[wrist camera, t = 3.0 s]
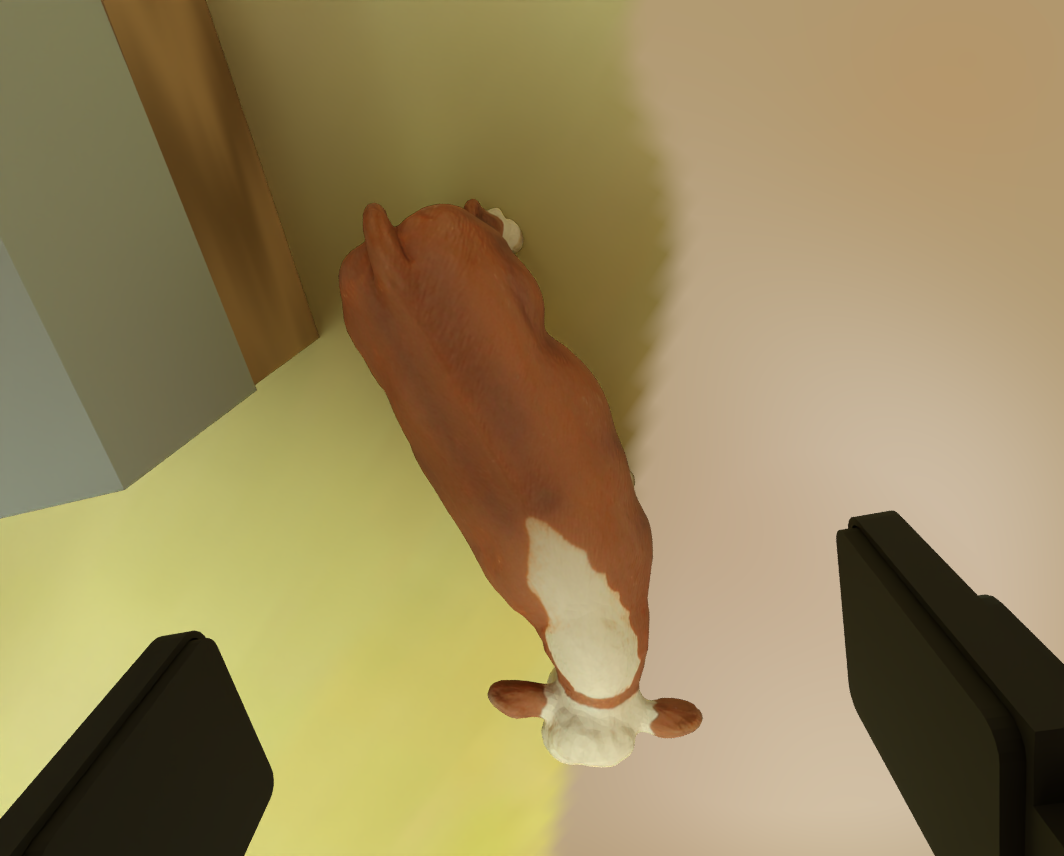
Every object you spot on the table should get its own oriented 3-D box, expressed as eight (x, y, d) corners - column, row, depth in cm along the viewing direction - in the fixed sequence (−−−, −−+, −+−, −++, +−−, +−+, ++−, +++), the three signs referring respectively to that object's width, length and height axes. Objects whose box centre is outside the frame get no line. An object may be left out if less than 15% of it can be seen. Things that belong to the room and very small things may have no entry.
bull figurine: (546, 621, 23) (541, 852, 15) (369, 212, 19) (240, 248, 11) (678, 582, 22) (742, 803, 15) (526, 150, 18) (505, 140, 10)
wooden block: (-129, 69, 18) (-371, 36, 13) (200, -26, 17) (66, -97, 12) (33, 400, 21) (-117, 468, 16) (321, 335, 20) (250, 388, 15)
